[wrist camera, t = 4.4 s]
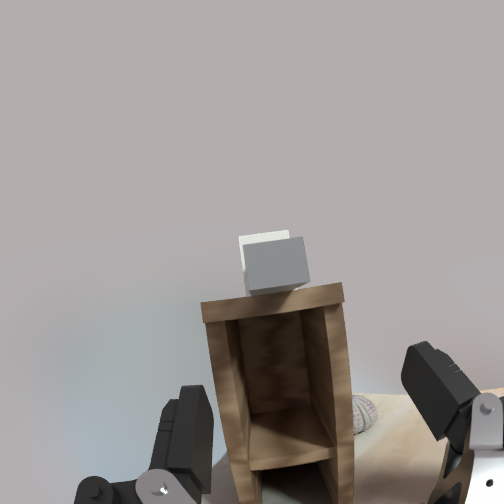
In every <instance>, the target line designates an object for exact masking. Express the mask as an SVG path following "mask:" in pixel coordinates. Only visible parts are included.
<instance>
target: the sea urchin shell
mask: <svg viewBox="0 0 504 504" xmlns="http://www.w3.org/2000/svg"><path fill="white" fill-rule="evenodd" d="M352 405H353V426H354V434H356V433H357V434H358V433H359V432H360V431H361V432H362V431H365V430H367V429H369V427H371V426H372V425H373V424H374V423H375V421H376V420H377V416H378V415H377V411H376V406H375V405H374V404H373V403H372V402H371V401H370V400H369V399H367V398H365V397H363V396H359V395H352Z"/></svg>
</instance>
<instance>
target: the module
mask: <svg viewBox="0 0 504 504" xmlns="http://www.w3.org/2000/svg"><path fill="white" fill-rule="evenodd" d="M239 244H240V251H241V259H242V267H243V274H244V282H245V289H246V297H249V296H256V295H264V294H271V293H277V292H284V291H291V290H297V289H298V287H300V286H302V285H304V284H306V283H308V282H310V277H309V271H308V265H307V259H306V253H305V247H304V242H303V237H296V238H289V231H288V230H283V231H276V232H268V233H260V234H253V235H246V236H239Z"/></svg>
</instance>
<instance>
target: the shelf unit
mask: <svg viewBox="0 0 504 504" xmlns="http://www.w3.org/2000/svg"><path fill="white" fill-rule="evenodd" d="M342 302H344V294H343V288H342V283H341V282H340V283H334V284H329V285H322V286H316V287H310V288H304V289H297V290H291V291H284V292H277V293H271V294H264V295H256V296H249V297H242V298H234V299H226V300H218V301H210V302H201V310H202V317H203V323H205V325H206V332H207V340H208V346H209V353H210V360H211V366H212V372H213V378H214V384H215V390H216V396H217V401H218V407H219V412H220V417H221V423H222V428H223V433H224V438H225V443H226V447H227V452H228V456H229V461H230V465H231V470H232V474H233V478H234V483H235V487H236V491H237V495H238V499H239V502H240V504H262V477H261V471H262V470H271V469H279V468H286V467H292V466H298V465H304V464H309V463H314V462H316V463H317V465H318V468H319V470H320V473H321V475H322V478H323V480H324V483H325V485H326V488H327V490H328V493H329V495H330V498H331V500H332V503H333V504H353V497H354V426H353V405H352V391H351V378H350V366H349V356H348V347H347V339H346V330H345V322H344V315H343V308H342Z"/></svg>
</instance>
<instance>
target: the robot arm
mask: <svg viewBox="0 0 504 504" xmlns="http://www.w3.org/2000/svg"><path fill="white" fill-rule="evenodd" d="M401 381H402V384H403V386H404V388H405V390H406V391H407V393H408V394H409V396H410V398H411V399H412V401H413V402H414V404H415V406H416V407H417V409H418V410H419V412H420V414H421V415H422V417H423V419H424V420H425V422H426V423H427V425H428V427H429V429H430V430H431V432H432V434H433V435H434V437H435V439H436V440H437V441H439V440H441V439H443V438H445V437H447V438H448V442H447V445H446V449H445V454H444V459H443V463H442V468H441V472H440V476H439V480H438V482H437V485H436V487H435V488H434V490H433V492H432V493H431V495H430V498H429V500H428V503H427V504H504V396H503V397H500V398H498V397H497V396H496V395H494V394H492V393H482V394H481V393H480V392H479V390H478V389H477V388H476V387H475V386H474V384H473V383H472V382H471V381H470V380H469V379H468V377H467V376H466V375H465V374H464V373H463V372H462V370H460V368H459V367H458V366H457V365H456V364H454V362H453V360H452V359H451V358H450V357H449V356H448V355H447V354H445V353H444V352H442V351H440V350H438V349H436V350H435V349H434V348H433V347H432V346H431V345H430V344H429V343H428V342H427V341H423V342H420V343H417V344H415V345H412V346H410V347H408V349H407V353H406V357H405V361H404V365H403V368H402V372H401ZM213 428H214V418H213V413H212V408H211V406H210V403H209V401H208V398H207V395H206V392H205V389H204V387H203V385H190V386H182V387H181V390H180V396H179V399H170V400H169V402H168V403H167V404H166V406H165V407H164V408H163V410H162V414H161V418H160V423H159V427H158V432H157V435H156V440H155V444H154V449H153V454H152V458H151V463H150V467H149V469H148V470H147V471H146V472H144V473H143V474H142V475H141V476H140V477H139V478H138V479H136V480H132V481H126V482H116V483H109V482H108V481H107V480H105V479H104V478H102V477H98V476H91V477H87V478H85V479H84V480H82V481H81V483H80V484H79V486H78V489H77V492H76V497H75V501H74V504H201V497H202V494H211V469H212V447H213ZM421 504H425V503H424V502H423V503H421Z"/></svg>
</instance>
